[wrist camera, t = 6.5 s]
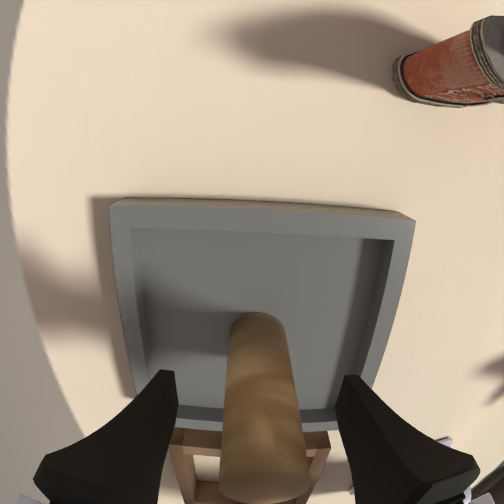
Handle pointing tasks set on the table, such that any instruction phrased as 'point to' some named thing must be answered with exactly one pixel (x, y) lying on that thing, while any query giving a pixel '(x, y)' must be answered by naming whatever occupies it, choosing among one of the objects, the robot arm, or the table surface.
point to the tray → (256, 293)
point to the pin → (261, 417)
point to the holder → (209, 444)
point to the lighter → (456, 69)
